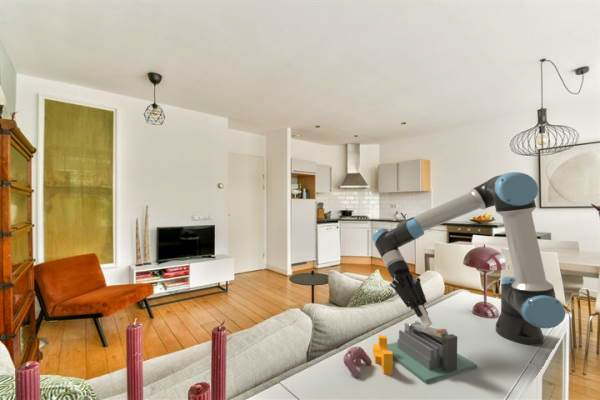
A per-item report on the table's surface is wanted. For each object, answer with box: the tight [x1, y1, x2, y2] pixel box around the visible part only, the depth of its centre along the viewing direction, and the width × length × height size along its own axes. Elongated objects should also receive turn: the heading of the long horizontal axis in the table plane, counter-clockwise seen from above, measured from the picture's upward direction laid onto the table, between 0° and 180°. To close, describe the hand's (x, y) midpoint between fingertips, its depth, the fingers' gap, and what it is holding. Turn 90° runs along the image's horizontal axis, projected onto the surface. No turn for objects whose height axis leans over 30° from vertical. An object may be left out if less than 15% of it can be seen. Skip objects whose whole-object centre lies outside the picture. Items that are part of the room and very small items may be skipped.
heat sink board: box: [387, 320, 478, 384], centre depth 95 cm, size 22×20×11 cm
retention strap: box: [409, 322, 449, 338], centre depth 95 cm, size 3×14×2 cm, turn 22°
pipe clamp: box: [372, 334, 394, 376], centre depth 91 cm, size 12×4×6 cm, turn 172°
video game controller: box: [343, 345, 373, 379], centre depth 88 cm, size 10×5×7 cm, turn 141°
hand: (428, 325), depth 94 cm, fingers closed
